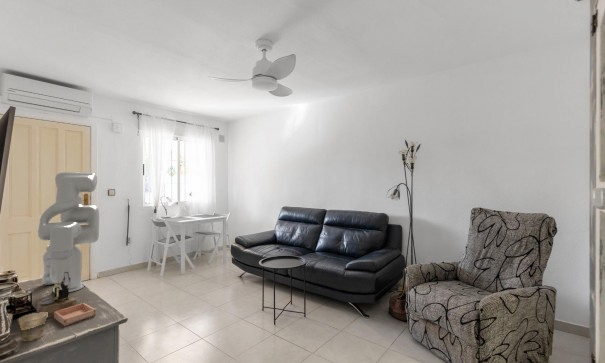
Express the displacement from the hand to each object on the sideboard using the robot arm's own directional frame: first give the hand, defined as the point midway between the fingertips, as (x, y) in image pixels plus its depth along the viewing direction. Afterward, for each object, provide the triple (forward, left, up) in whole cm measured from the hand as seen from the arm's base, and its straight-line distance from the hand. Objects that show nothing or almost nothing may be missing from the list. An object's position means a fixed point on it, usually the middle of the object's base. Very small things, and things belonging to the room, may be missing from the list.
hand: (61, 296), depth 120 cm
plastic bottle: (-39, +7, -6) cm, 40 cm away
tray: (+13, 0, -5) cm, 14 cm away
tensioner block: (0, -2, -5) cm, 5 cm away
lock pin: (0, 0, -5) cm, 5 cm away
